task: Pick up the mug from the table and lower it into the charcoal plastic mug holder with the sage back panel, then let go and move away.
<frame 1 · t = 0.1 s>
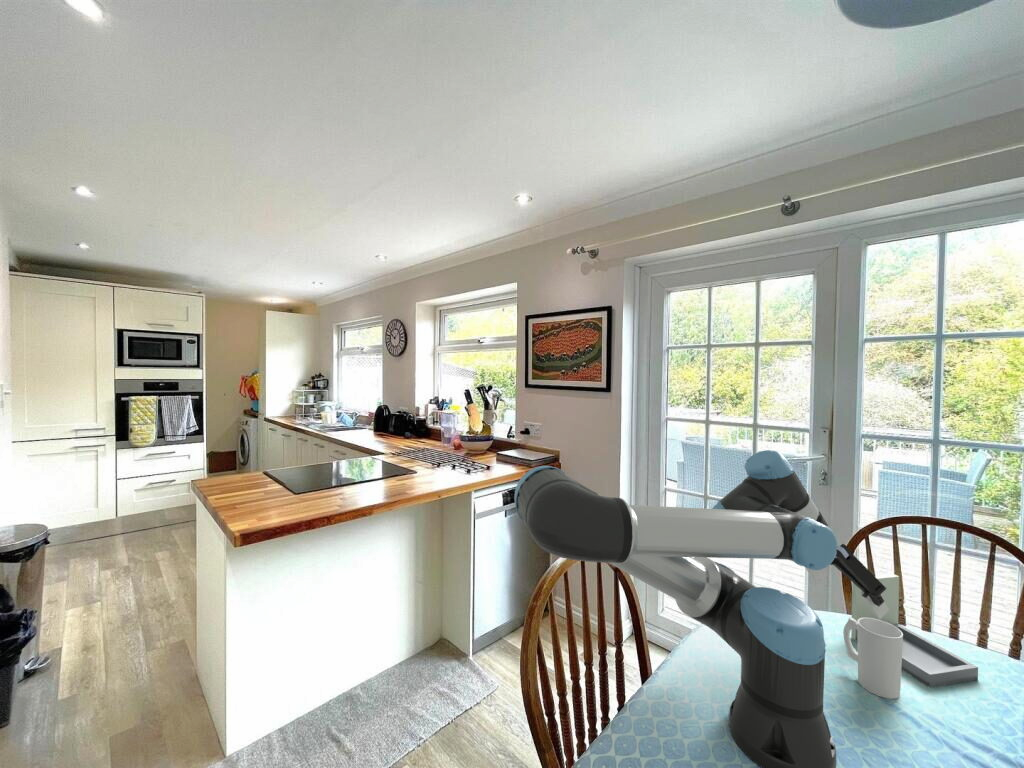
hand: (849, 595, 89), 15 cm above the table, tool tilted 35°, fingers open, 13 cm apart
mug holder: (912, 658, 92), on the table
mug: (869, 682, 85), on the table
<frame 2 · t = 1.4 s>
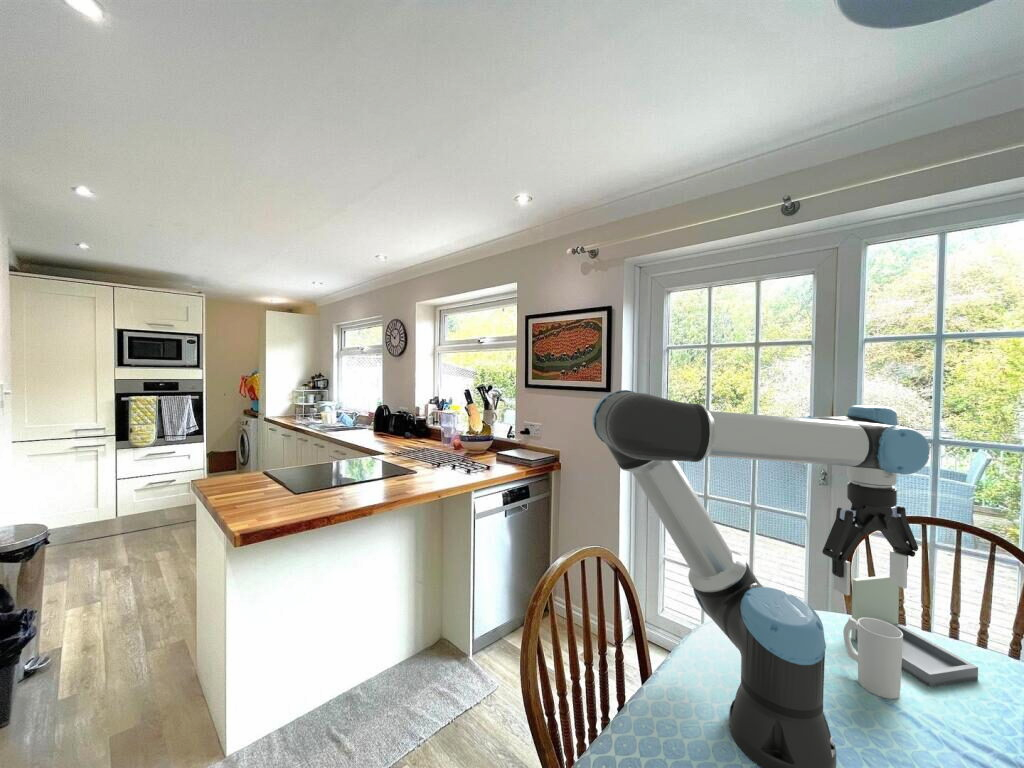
hand: (870, 588, 85), 19 cm above the table, tool pointing down, fingers open, 13 cm apart
nothing on the table moved.
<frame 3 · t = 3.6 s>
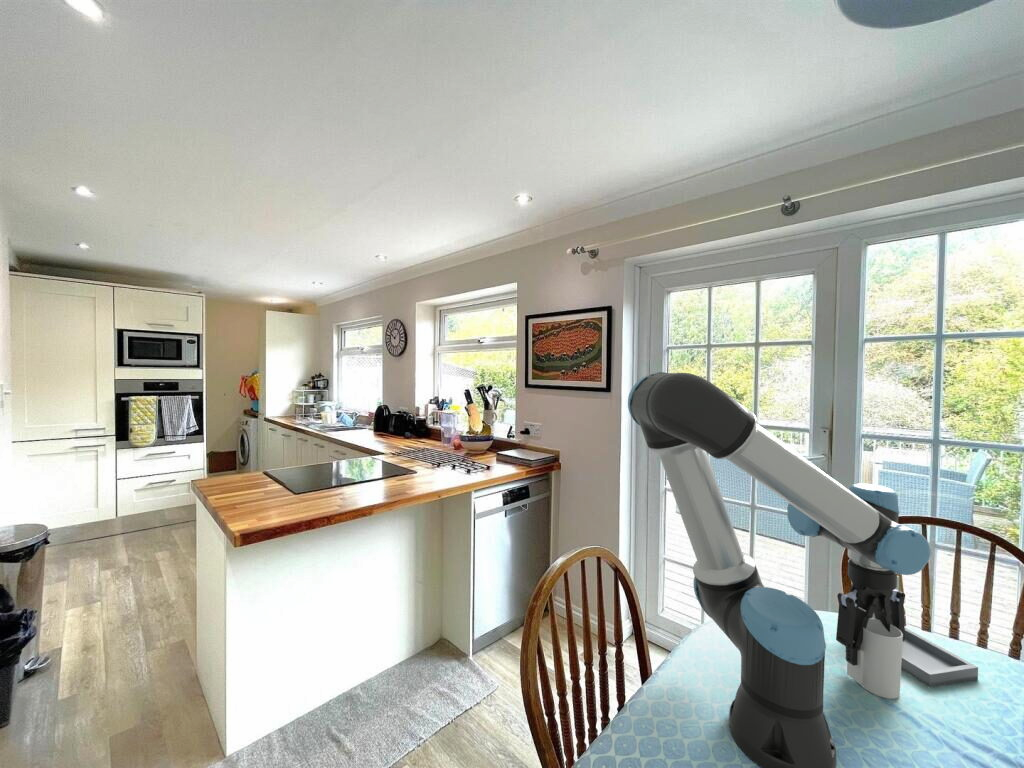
hand: (869, 676, 85), 1 cm above the table, tool pointing down, fingers closed on mug, 6 cm apart
mug: (869, 682, 85), on the table, touching gripper
when the fingers open (4 cm above the table, at t = 9.4 s): mug drops 2 cm, resting on mug holder.
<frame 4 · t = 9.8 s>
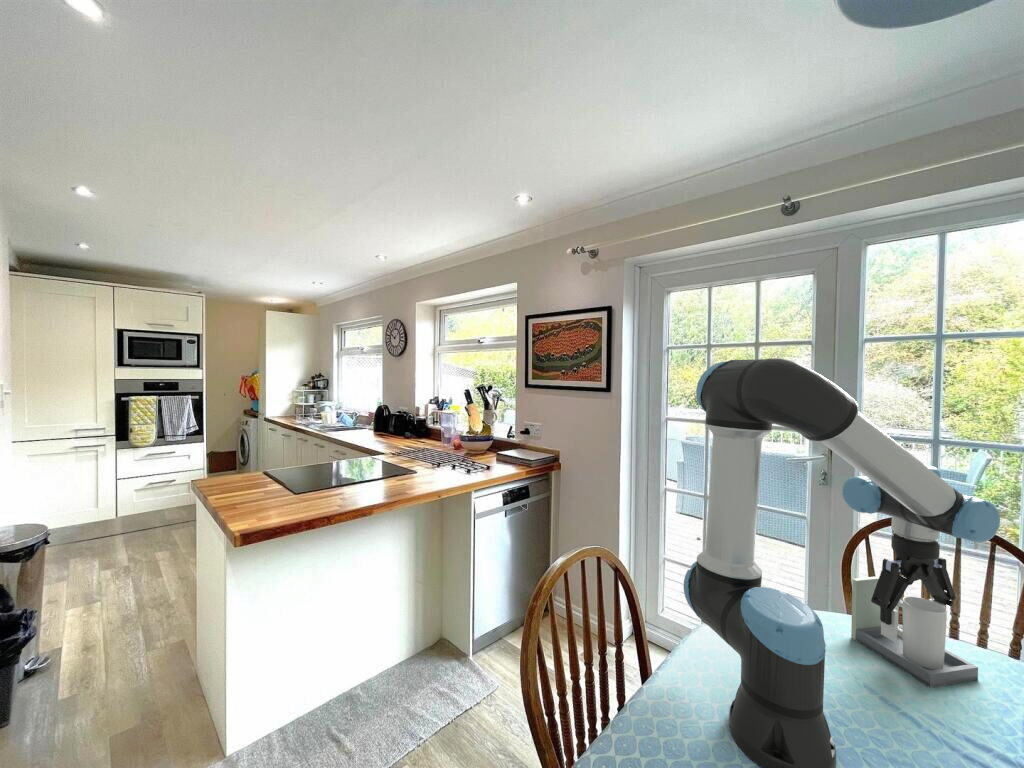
hand: (912, 634, 92), 5 cm above the table, tool pointing down, fingers open, 12 cm apart
mug: (913, 656, 92), point 1 cm above the table, touching mug holder
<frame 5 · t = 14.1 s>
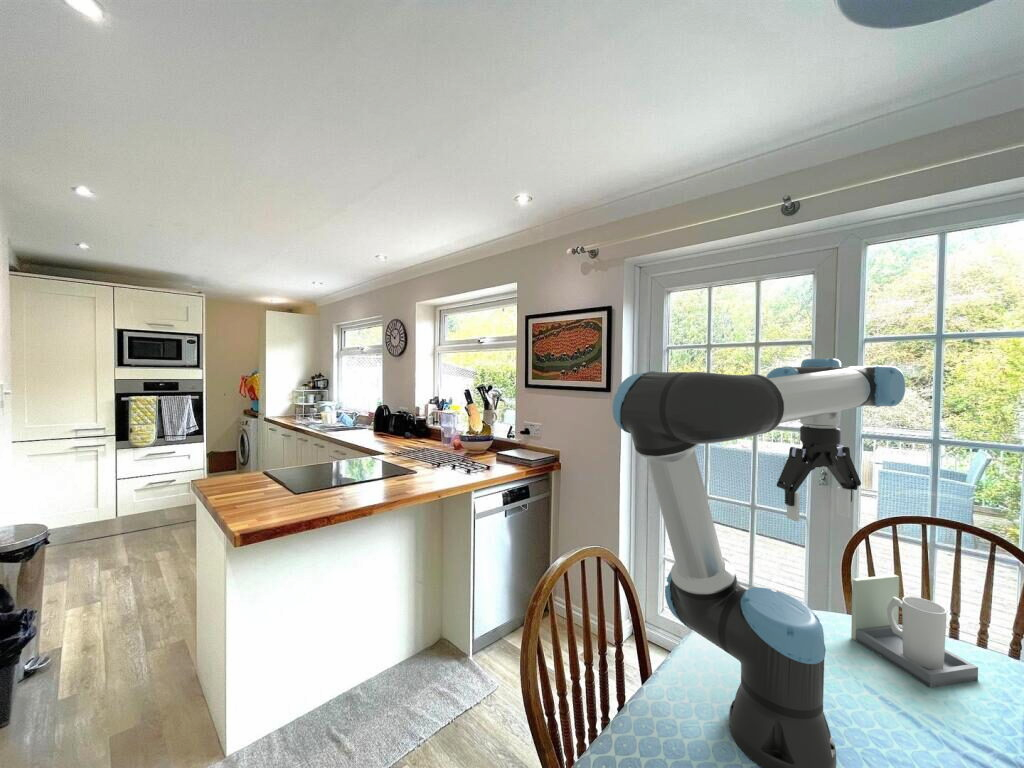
hand: (818, 518, 97), 29 cm above the table, tool pointing down, fingers open, 13 cm apart
nothing on the table moved.
at the end: mug 0.1 cm off-centre on the mug holder, point 0.6 cm above the mug holder's base; mug tilted 0°; the gripper is holding nothing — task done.
